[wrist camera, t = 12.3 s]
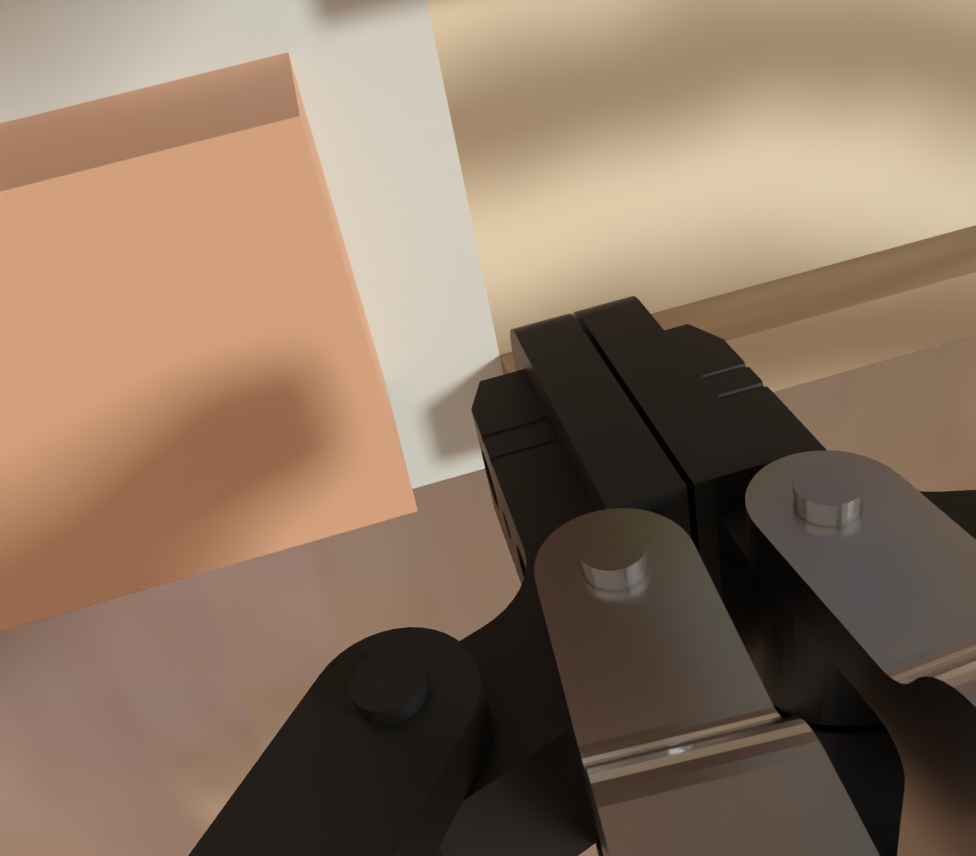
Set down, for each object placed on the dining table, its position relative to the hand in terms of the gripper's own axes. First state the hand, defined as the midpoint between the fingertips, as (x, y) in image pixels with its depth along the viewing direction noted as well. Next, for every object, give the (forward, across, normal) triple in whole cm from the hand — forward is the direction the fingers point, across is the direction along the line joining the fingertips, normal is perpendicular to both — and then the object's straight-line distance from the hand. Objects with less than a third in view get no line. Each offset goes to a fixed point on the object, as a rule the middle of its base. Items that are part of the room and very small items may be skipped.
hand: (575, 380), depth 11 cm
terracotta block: (+9, +6, +1) cm, 11 cm away
